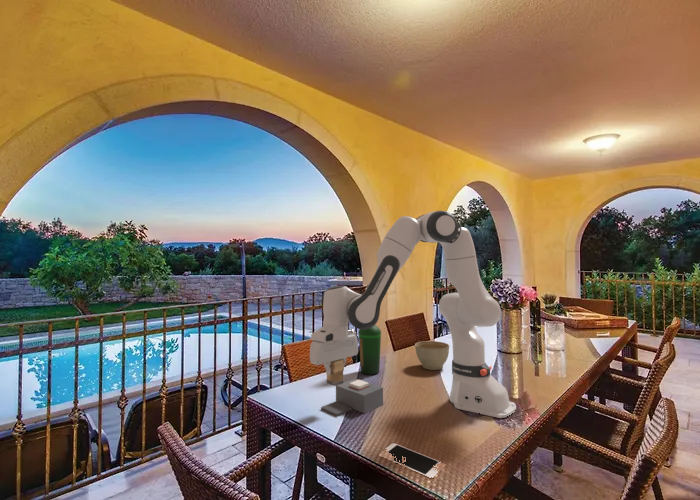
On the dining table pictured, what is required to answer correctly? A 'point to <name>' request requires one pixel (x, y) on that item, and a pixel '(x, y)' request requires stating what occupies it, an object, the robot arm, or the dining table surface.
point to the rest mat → (336, 408)
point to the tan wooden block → (336, 373)
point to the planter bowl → (432, 354)
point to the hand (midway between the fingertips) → (335, 372)
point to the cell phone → (414, 460)
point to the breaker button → (359, 385)
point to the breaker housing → (359, 396)
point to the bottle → (370, 350)
